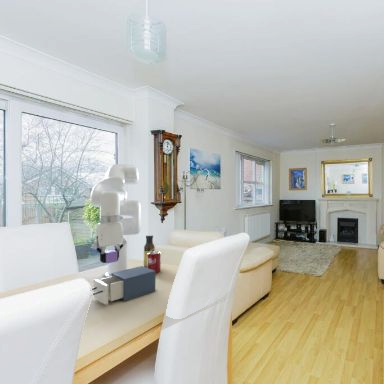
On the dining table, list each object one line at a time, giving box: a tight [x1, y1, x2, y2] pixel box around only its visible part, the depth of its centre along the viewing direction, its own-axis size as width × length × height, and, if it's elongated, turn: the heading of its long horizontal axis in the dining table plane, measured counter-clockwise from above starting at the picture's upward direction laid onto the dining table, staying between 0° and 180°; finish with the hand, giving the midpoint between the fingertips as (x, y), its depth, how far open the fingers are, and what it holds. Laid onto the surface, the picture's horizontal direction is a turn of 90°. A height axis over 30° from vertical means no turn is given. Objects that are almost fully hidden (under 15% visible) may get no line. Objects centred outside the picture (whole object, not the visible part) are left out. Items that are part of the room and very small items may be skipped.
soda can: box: [147, 250, 162, 276], centre depth 149 cm, size 7×7×12 cm
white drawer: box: [91, 276, 124, 306], centre depth 113 cm, size 19×11×8 cm, turn 142°
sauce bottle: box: [143, 234, 156, 268], centre depth 160 cm, size 6×6×20 cm
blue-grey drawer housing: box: [111, 265, 156, 302], centre depth 122 cm, size 15×13×10 cm
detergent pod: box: [104, 249, 117, 265], centre depth 113 cm, size 4×4×4 cm
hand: (109, 260), depth 113 cm, fingers closed on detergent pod, 4 cm apart
